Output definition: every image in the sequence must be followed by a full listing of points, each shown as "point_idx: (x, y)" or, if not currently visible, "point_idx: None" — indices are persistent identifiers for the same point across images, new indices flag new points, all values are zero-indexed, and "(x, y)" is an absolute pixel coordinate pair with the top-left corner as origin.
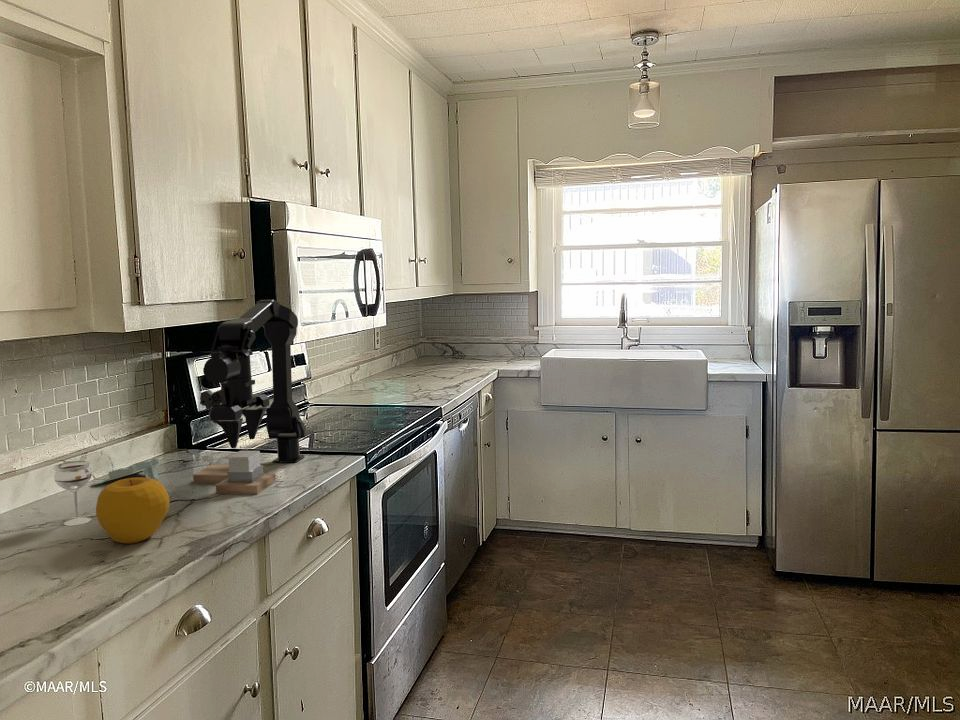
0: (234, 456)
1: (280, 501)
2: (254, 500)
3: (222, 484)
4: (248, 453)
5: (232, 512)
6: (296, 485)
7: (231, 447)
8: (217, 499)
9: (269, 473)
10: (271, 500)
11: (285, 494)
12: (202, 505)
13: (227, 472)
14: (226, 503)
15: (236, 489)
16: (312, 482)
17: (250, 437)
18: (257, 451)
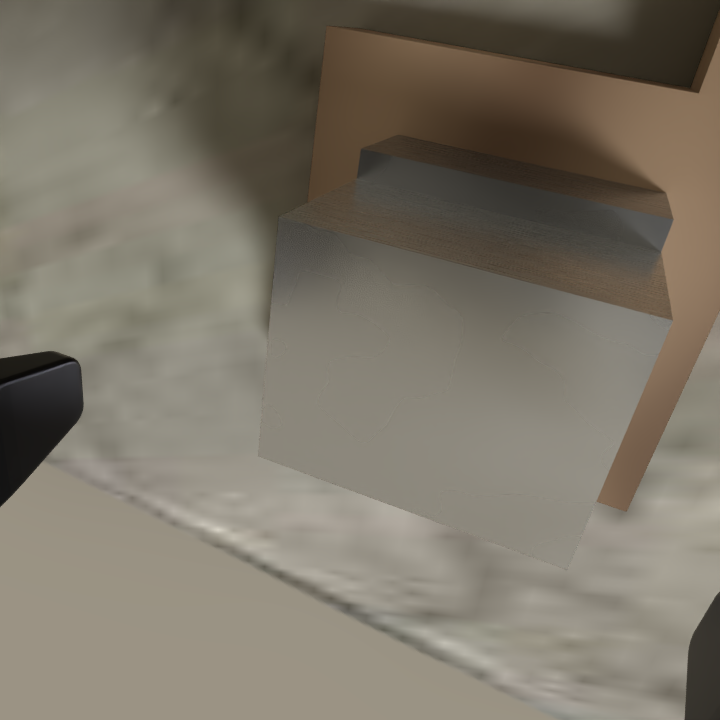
0: (308, 293)
1: (184, 493)
2: (196, 363)
3: (339, 97)
4: (442, 449)
5: (10, 275)
6: (479, 584)
7: (48, 359)
8: (213, 100)
9: (640, 468)
10: (198, 452)
11: (298, 519)
12: (88, 27)
13: (364, 150)
14: (137, 199)
15: None
16: (529, 667)
17: (717, 625)
18: (533, 546)
